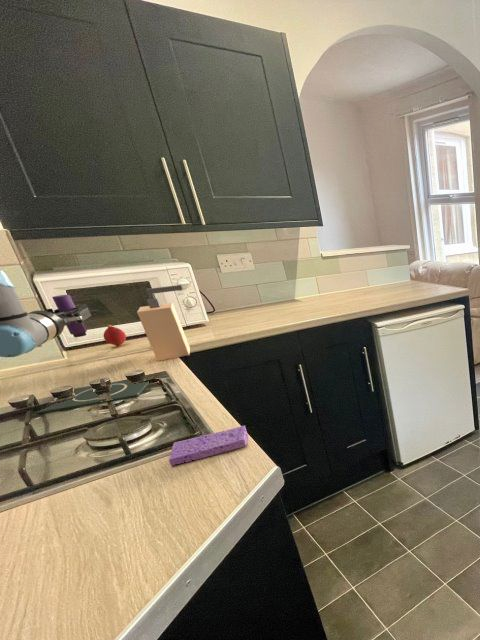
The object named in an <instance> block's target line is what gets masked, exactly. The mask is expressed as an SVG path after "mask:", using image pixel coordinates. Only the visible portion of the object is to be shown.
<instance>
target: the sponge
mask: <svg viewBox="0 0 480 640" xmlns="http://www.w3.org/2000/svg"><path fill="white" fill-rule="evenodd" d="M246 433H247V435H246ZM247 443H248V431H247V428H246V425H241V426H237V427H233V428H230V429H227V430H223V431H217V432H213V433H209V434H204V435H199V436H196V437H192V438H188V439H183V440H179V441H174V442H173V444H172V448H171V453H170V455H169V458H168V461H169V464H170V466H171V465H174V466H176V465H175V464H179V463H182V464H185V463H184V462H186V463H189V462H188V461H190V462H193V461H192V460H194V461H197V460H200V459H204V458H205V459H206V458H209V457H211V456H216V455H220V454H222V453H225V452H226V453H227V452H230V451H233V450H236V449H240V448H244V447H246V446H247ZM179 465H180V464H179Z"/></svg>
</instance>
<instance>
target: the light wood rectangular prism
mask: <svg viewBox="0 0 480 640" xmlns="http://www.w3.org/2000/svg"><path fill="white" fill-rule="evenodd" d="M183 290H184V289H183V286H182V284H175V285H167V286H159V287H151V288H146V289H145V291H146V293H147V297H148V299H146V302H147V304H148V305H145V306H140V307H139V308H138V310H137V311H136V313H137V315H138V318H139V321H140V323H141V325H142V328H143V330H144V333H145V332H146V333H145V335H146V338H147V337H148V338H147V340H148V342H149V344H151V345H150V347H151V349H152V352H153V354H154V356H155V358H156V361H157V362H160V361H166V360H171V359H174V358H175V359H176V358H182V357H187V356H190V354H191V353H190V352H191V348H190V345H189V341H188V339H187V337H186V334H185V331H184V328H183V326H182V324H181V321H180V319H179V315H178V313H177V311H176V308H175V305H174V303H173V302H168V303H160V301H159V298H158V297H155V296H154V294H162V293H168V292H169V293H170V292H177V291H183Z"/></svg>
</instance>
